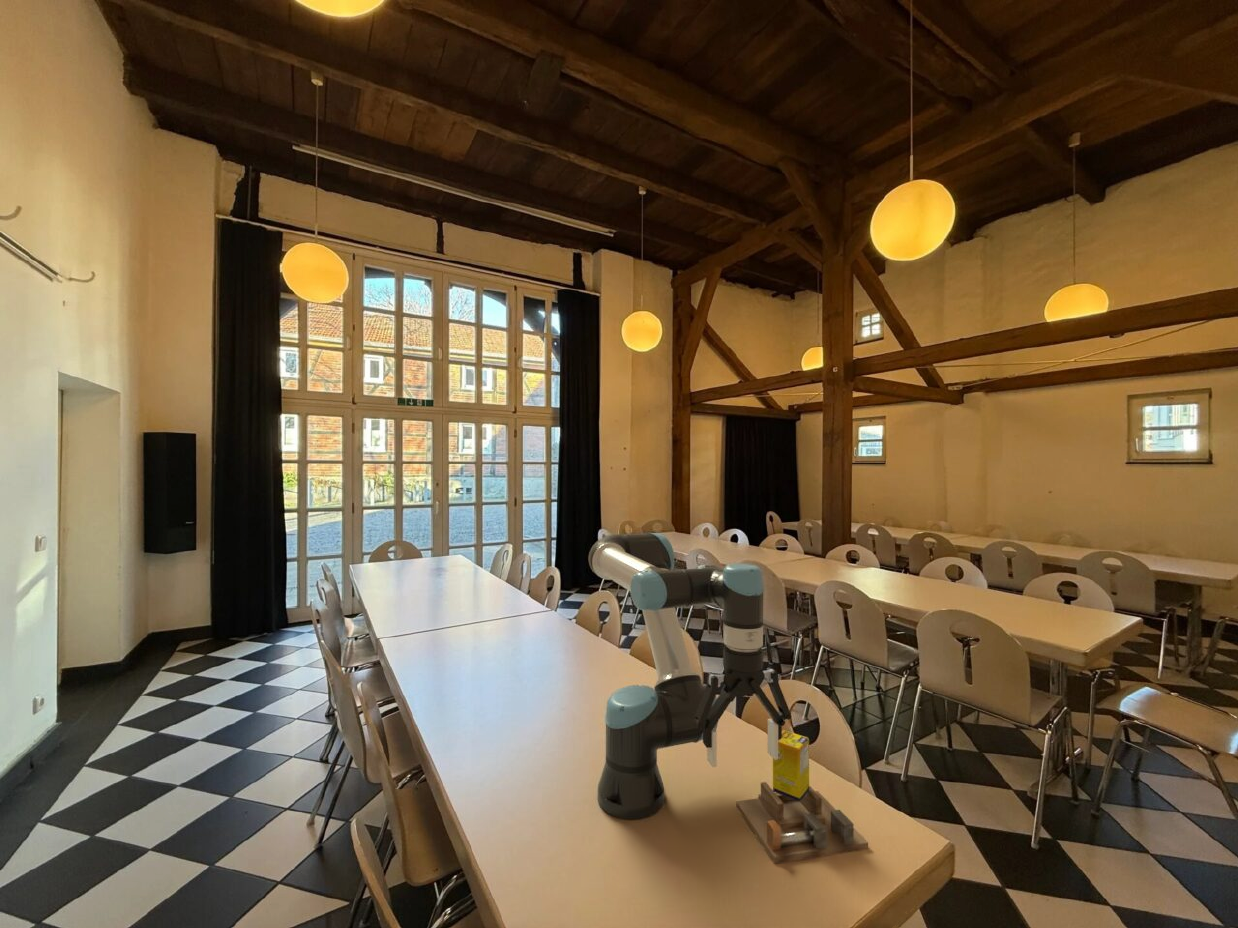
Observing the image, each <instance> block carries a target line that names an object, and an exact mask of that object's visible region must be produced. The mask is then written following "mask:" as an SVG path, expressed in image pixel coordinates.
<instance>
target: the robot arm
mask: <svg viewBox="0 0 1238 928" xmlns="http://www.w3.org/2000/svg"><path fill="white" fill-rule="evenodd" d="M674 558H675V552H674V548H673V545H672V543H671V542H670V540H669V539H668V537H666V535H664V534H662V533H654V532H653V533H652V532H645V533H625V534H624V533H622V534H621V533H620V534H619V533H615V534H609V535H605V536H604V537H602V538H600V539H598V540H597V541H596V542H595V543H594V544H593V545H592V547H591V548H590V550H589V553H588V563H589V567H590V569H591V570H592V573H594V574H595V575H596V576H597V577H599V578H601V579H603V580H608V581H612V582H614V583H616V584H618V585H619V586H621V587H622V588H624V589H625V590H627V591H628V592H630V596H631V601H632V603H634V604H633V605H634V606H635V607H636V608H637V609H638V610H641V611H642V615H643V619H644V623H645V628H646V633H647V637H648V641H649V645H650V648H651V653H652V657H653V660H654V665H655V670H656V674H657V680H656V682H655V683H654V685H653V687H651V686H649V685H643V684H642V685H639V684H635V685H634V684H633V685H628V686H625V687H621V688H619V689H617V690H615V691H614V692H612V694H611V695H610V696H609V697H608V699H607V701H606V706H605V707H606V712H605V716H604V723H605V762H604V766H603V769H602V773H601V775H600V778H599V781H598V785H597V803H598V805H599V806H600V808H601V809H602V810H604V812H605V813H608V814H609V815H611V816H613V817H616V818H620V819H624V820H625V819H626V820H641V819H645V818H649V817H651V816H653V815H655V814H657V813H658V812H659V811H660V810H661V809H662V807H663V806H664V805H665V795H666V793H665V791H666V790H665V785H664V783H663V782H664V781H663V778H662V775H661V772H660V770H659V769H660V768H659V766H658V759H657V758H658V750H660V749H663V748H664V749H665V748H670V747H675V746H680V745H686V744H691V743H693V744H696V743H698V742H700V741H702V743H703V745H704V746H705V748H706V752H707V753H706V757H707V758H706V759H707V762H708V763H709V764H710V766H711V767H712V768H717V766H718V765H717V764H718V763H717V761H718V760H717V753H718V751H717V749H718V747H717V746H718V741H717V736H718V735H717V734H718V733H717V728H718V724H719V722H720V719H721V717H722V716H723V714H724V712H725V711H726V710H727V708H728V707H729V705H730V703H733V702H734V701H735V699H736V698H737V699H738V698H742V697H753V696H754V695H755V696H756V697H757V699H758V701H759V702H760V703H761V704H762V707H764V709H765V710H766V712H767V713H768V714H769V715H770V717H771V718H767V753H768V755H769V756H771V758H772V760H773V759H774V760H777V759H778V740H779V739H781V737H782V730H783V728H782V727H783V726H785V725H786V720H787V721H789V720H791V719H792V713H791V710H790V708H789V706H788V704H787V700H786V698H785V696H784V693H783V690H782V688H781V686H780V683H779V673H778V672H777V671H776V670H775V669H773V668H771V667H767V668H766V670H763V667H764V649H763V648H762V647H763V646H764V592H765V586H764V579H763V577H764V575H763V571H762V569H761V568H760V567H759V566H757V565H754V564H747V563H730V564H727V565H725V566H724V567H723V568H721V567H719V566H716V565H713V564H701V565H698V566H696V567H695V568H685V569H674V567H675V563H676V562H675V559H674ZM705 605H706V606H709V605H714V606H717V607H719V608H722V609H723V610H722V611H723V612H722V615H723V619H722V620H723V621H722V623H723V626H722V628H723V629H722V630H723V631H722V633H723V634H722V635H723V637H722V642H723V644H724V645H723V648H722V661H723V662H722V665H723V669H722V673H721V674H714V673H713V672H708V673H707V676H706V677H707V678H706V683H704V684H703V682H702V678H701V675H700V674H699V673H697V672H696V671H694V670H693V669H692V666H691V665H692V664H691V662H690V658H689V654H688V649H687V647H686V643H685V639H684V636H683V633H682V629H681V625H680V622H679V618H678V615H677V610H676V608H683V607H685V608H686V607H697V606H705ZM764 680H765V681H766V682H767V684H768V687H769V690H770V692H771V694H772V696H773V697H772V698H773V699H774V702H775V704H776V707H777V709H778V710H777V709H776V708H775V706H774V705H773V703H772V702H771V701H770V699H769V698H768V697H767V695H766V693H765V692H764V690H763V689H762V688H761V686H762V683H763V682H764ZM722 683H723V684H724V685H723V686H722V688H721V689H720V693H719V695H718V696H717V693H718V691H719V690H718V689H719V688H720V687H721V684H722Z"/></svg>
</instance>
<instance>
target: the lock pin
mask: <svg viewBox="0 0 1238 928" xmlns="http://www.w3.org/2000/svg"><path fill="white" fill-rule="evenodd" d="M826 838H827V835H826ZM811 841H814V830H806V831H799V832H792V833H785V834H781V828H780V827H779V825H778V824H777V823H776V822H775V820H772V821H767V843H768V844H769V846H770V847H771V849H772V850H773V851H775V850H781V846H784V845H791V844H798V843H804V842H811Z"/></svg>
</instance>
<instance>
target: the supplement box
mask: <svg viewBox="0 0 1238 928" xmlns="http://www.w3.org/2000/svg"><path fill="white" fill-rule="evenodd" d="M809 786H810V739H809V737H808V736H804V735H800V734H798V733H794V732H791V731H789V730H785V729H782V737H781V739H779V740H778V759H777V760H774V759H773V758H772V790H773V791H774V792H776V793H779V794H781V795H784V796H786V797H789V798H791V799H794V800H796V801H799V802H800V801H801V800H802V798H803V797H804V796H805V794H806V793H807V791H808V790H809Z"/></svg>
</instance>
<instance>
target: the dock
mask: <svg viewBox="0 0 1238 928" xmlns="http://www.w3.org/2000/svg"><path fill="white" fill-rule="evenodd" d="M757 797H758V798H753V799H744V800H736V801H735V808H736V809H737V811H738V813H739V814H740V815H741V817H742V818H743V820H744V821H745V823H746V824H747V825H748V827H749V828H750V830H751V832H752V833H753V834H754V835H755V837H756V838H757V840H758V842H759V843H760V844H761V846H762V848H763V849H764V851H765V852H766V853H767V855H768V856H769V858H770V860H771V861H772V862H773V864H775V865H776V864H779V863H780V864H782V863H787V862H794V861H800V860H806V859H812V858H820V857H826V856H833V855H838V854H843V853H851V852H857V851H864V850H868V849H869V842H868V840H867V839H865V837H864V836H862V835H861V834H860V833H859V832H858V831H857V829H856V828H855V827H854V822H852V821H851V819H849V817H848V816H846V815H845V814H844V813H843V812H842V811H841V809H836V808H835V807H834V805H832V804H831V803H830V802H829V801H828V799H826V798H825V796H824V795H822V794H821V793H820V791H818V790H815V789H814V788H812V786H811V785H809V790H808V791H807V793H806V794H805V796H804V797H803V798H802V800H801V801H800V802H799V801H796V800H794V799H791V798H789V797H786V796H784V795H781V794H779V793H776V792H774V791H773V788H772V787H771V786H770V785H769V784H768V783H767V781H762V782H760V793H759V794H758V796H757ZM772 820H775V822H776V823H777V824H778V825H779V827H780V828H781V834H785V833H792V832H799V831H806V830H814V841H811V842H804V843H798V844H791V845H784V846H781V850H775V851H773V850H772V849H771V847H770V846H769V844H768V843H767V821H772ZM826 835H827V838H826Z"/></svg>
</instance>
